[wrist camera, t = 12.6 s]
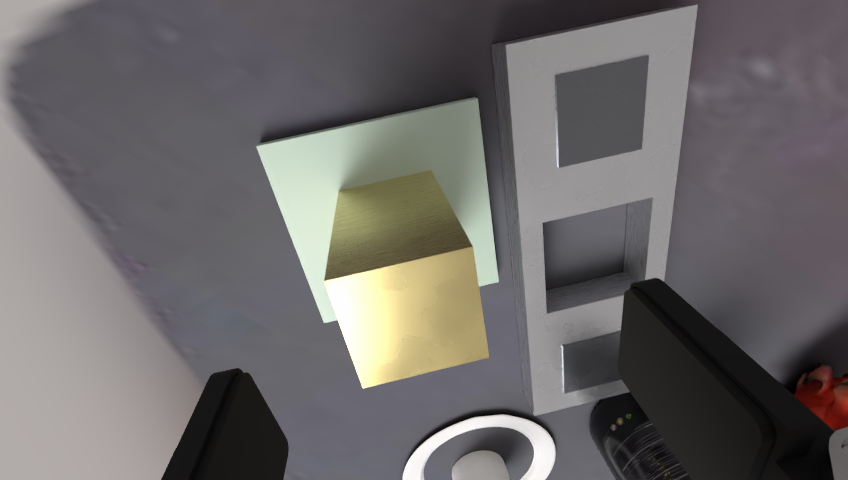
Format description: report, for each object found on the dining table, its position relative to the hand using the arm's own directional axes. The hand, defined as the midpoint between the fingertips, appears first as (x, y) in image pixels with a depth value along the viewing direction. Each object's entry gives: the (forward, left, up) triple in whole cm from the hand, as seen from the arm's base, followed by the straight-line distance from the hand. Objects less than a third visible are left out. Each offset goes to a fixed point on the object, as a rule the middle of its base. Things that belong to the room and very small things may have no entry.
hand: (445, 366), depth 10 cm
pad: (+1, -1, -11) cm, 11 cm away
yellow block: (+1, -1, -11) cm, 11 cm away
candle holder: (+23, +1, -12) cm, 26 cm away
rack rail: (+5, +9, -11) cm, 15 cm away
